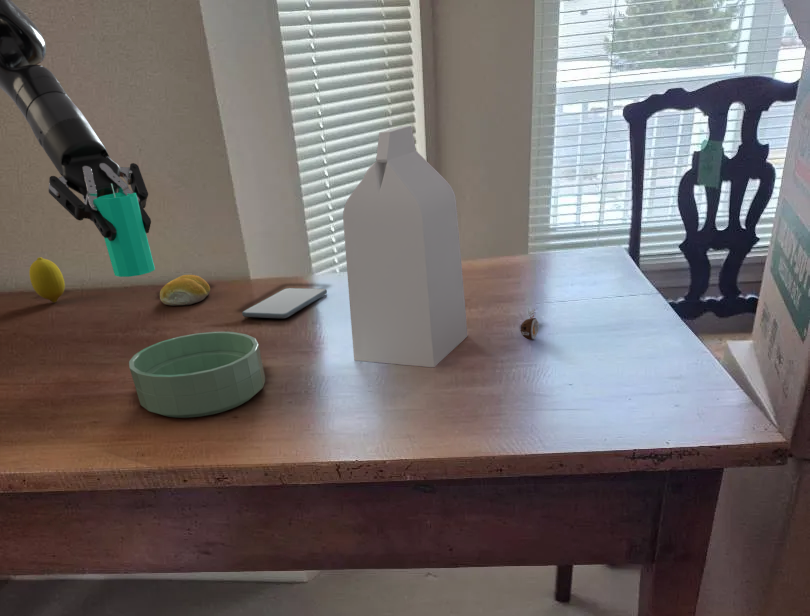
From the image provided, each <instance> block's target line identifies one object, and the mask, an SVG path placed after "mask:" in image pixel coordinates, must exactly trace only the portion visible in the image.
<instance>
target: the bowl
mask: <svg viewBox="0 0 810 616" xmlns="http://www.w3.org/2000/svg"><path fill="white" fill-rule="evenodd" d="M128 365H129V371H130V375H131V378H132V381H133V384H134V387H135V390H136V394H137V398H138V401H139V404H140V406H141V407H142V408H144V409H145V410H146V411H148V412H149V413H150V412H151V413H154V414H158V415H161V416H164V417H169V418H178V419H179V418H180V419H181V418H183V419H185V418H189V419H190V418H199V417H207V416H212V415H216V414H219V413H220V414H221V413H224V412H227V411H229V410H233V409H235V408H238V407H239V406H241V405H244V404H245V403H247V402H249V400H251V399H252V398H253V397H254V396H256V394H258V393H259V392H260V391H261V390H262V389H264V386H265V384H266V375H265V369H264V364H263V359H262V354H261V349H260V345H259V343H258V341H257V339H256V337H253V336H251V335H248V334H247V333H241V332H236V331H207V332H206V331H205V332H197V333H191V334H185V335H180V336H176V337H173V338H168V339H165V340H162V341H159V342H156V343H154V344H152V345H151V344H150V345H149V346H147V347H145V348H143V349H141V350H140V351H138V352H137V353H135V354H134V355H133V356H132V357H131V358H130V360H129V361H128Z"/></svg>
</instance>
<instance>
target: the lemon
mask: <svg viewBox="0 0 810 616" xmlns="http://www.w3.org/2000/svg"><path fill="white" fill-rule="evenodd" d="M28 275H29V280H30V283H31V286H32V288H33V291H35V293H36V294H37V295H38V296H39V297H41V298H42V299H45V300H49V301H50V302H52V303H56V302H58V300H59V298H60V297H61V296H62V295H63V294H64V292H65V288H66V284H65V283H66V282H65V278H64V275H63V273H62V271H61V270H60V268H59V267H58V265H57V264H56V263H55V262H53V261H52V260H50V259H47V258H44V257H42V256H39V257H37V259H36V260H34V261H33V262H32V263H31V265H30V266H29V272H28Z"/></svg>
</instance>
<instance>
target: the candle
mask: <svg viewBox="0 0 810 616" xmlns="http://www.w3.org/2000/svg"><path fill="white" fill-rule="evenodd" d="M111 186H112V189H113V185H112V184H111ZM93 200H94V203H95V204H96V205H97V208H98V209H99V210H98V211H100V213H101V214H102V216H103V217H104V218H106V219H107V220H108V221H109V222H111V223H112V224H113V226H114V227H115V229H116V232H117V234H116V238H115V239H114V240H113V241H109V240H108V238H105V237H103V239H104V241H105V246H106V251H107V254H108V257H109V260H110V263H111V268H112V271H113V274H114V277H115V276H116V277H118V278H126V277H127V278H129V277H138V276H143V275H146V274H150V273H153V272H154V271H155V270H156V267H155V263H154V259H153V256H152V255H153V254H152V250H151V247H150V242H149V239H148V235H147V233H146V232H145V229H144V225H143V221H142V217H141V212H140V207H139V203H138V199H137V195H136V193H132V194H127V196H126V195H124V194H122V193H121V192H118V191H117V193H114V189H113V194H108V195H104V196H100V197H98V198H97V199H93Z"/></svg>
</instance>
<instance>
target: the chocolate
mask: <svg viewBox="0 0 810 616" xmlns="http://www.w3.org/2000/svg"><path fill="white" fill-rule="evenodd" d="M535 311H536V308H533V309H532V310H529V311H528V316H529V318H527V319H525V320H523V321H522V323H521V325H520V335H521V336H522V337H523V338H524V339H526V340H528V341H535V339H536V338H537V335H538V334H539V327H540V323H539V320H538V319H537V318H536V317H535Z"/></svg>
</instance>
